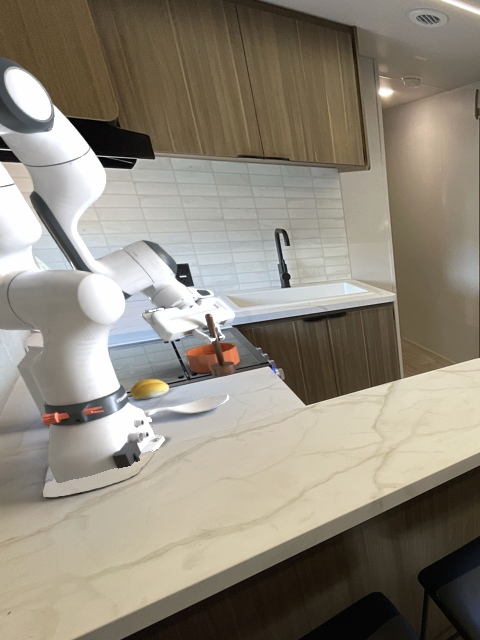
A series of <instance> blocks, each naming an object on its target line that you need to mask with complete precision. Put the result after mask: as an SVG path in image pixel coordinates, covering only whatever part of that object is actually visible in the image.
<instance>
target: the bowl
mask: <svg viewBox="0 0 480 640" xmlns="http://www.w3.org/2000/svg"><path fill="white" fill-rule="evenodd" d="M220 346H221V349H222V353H223V357H224V360H225V362H234V365H235V366H236V365H238V363H240V362H241V358H240V355H239V352H238V348H237V344H235V343H233V342H220ZM184 357H185V360H186V362H187V365H188V369H189V370H190V371H191V372H194V373H197V374H208V373H209V374H210V373H212V371H211V368H210V366H211V365H213V364H216V363H218V361H217V357H216V354H215V350H214V347H213V343H212V344H209V345H208V344H207V343H206V344H202V345H197V346H195V347H192V348H189V349H187V350H186V351H185V352H184Z"/></svg>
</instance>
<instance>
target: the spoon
mask: <svg viewBox="0 0 480 640" xmlns="http://www.w3.org/2000/svg"><path fill="white" fill-rule="evenodd" d="M229 399H230V396H229V395H228V393H218V394H217V393H216V394H213V395H209V396H205V397H202V398H199V399H196V400H191V401H189V402H185V403H181V404H178V405H174V406H167V407H157V408H149V409H146V410H142V411H143V413H144V415H145V417H146V416H147V417H148V416H152V415H154V414H157V413H177V414H191V415H192V414H199V413H200V414H201V413H205V412H208V411H212V410H214V409H216V408H219V407H220V406H222V405H224V404H225V403H227V402H228V400H229Z"/></svg>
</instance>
